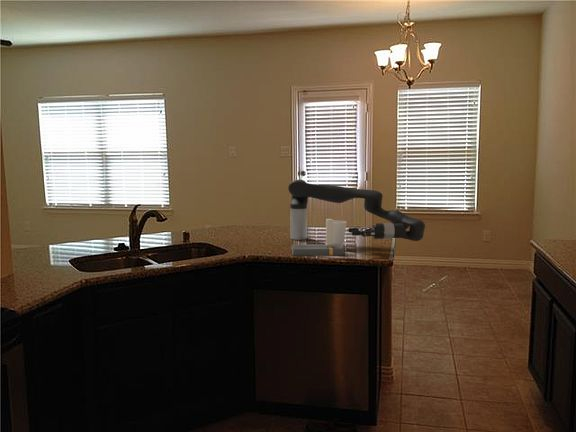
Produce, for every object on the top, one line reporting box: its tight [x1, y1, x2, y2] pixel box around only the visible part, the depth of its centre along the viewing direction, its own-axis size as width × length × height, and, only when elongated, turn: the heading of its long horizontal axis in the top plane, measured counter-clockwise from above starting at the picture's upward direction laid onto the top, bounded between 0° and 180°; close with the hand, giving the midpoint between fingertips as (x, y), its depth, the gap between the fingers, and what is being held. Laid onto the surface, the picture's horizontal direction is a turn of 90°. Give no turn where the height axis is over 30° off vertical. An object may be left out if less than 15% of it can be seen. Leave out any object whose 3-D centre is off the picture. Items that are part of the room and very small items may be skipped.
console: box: [291, 243, 345, 257], centre depth 229 cm, size 24×12×3 cm, turn 93°
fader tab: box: [324, 218, 334, 247], centre depth 228 cm, size 4×4×13 cm
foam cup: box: [333, 219, 348, 248], centre depth 244 cm, size 10×9×13 cm
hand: (350, 231), depth 228 cm, fingers open, 8 cm apart
